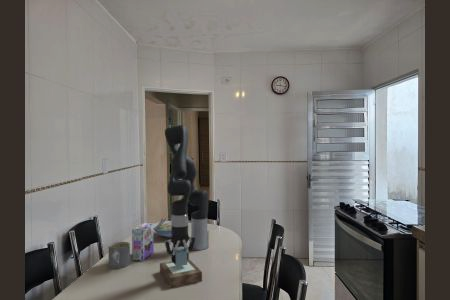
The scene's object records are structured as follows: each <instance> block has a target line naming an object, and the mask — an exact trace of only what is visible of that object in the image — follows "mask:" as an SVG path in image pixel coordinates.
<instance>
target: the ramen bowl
mask: <svg viewBox="0 0 450 300" xmlns="http://www.w3.org/2000/svg"><path fill="white" fill-rule="evenodd" d="M153 231H154V232H155V233H156V234H158V235H159V236H162V237H165V238H167V239H168V238H170V239H171V236H172V235H171V220H167V221H166V218H165V219H161V220H160V221H159V222H156V223H153Z"/></svg>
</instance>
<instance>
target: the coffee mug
mask: <svg viewBox="0 0 450 300" xmlns="http://www.w3.org/2000/svg"><path fill="white" fill-rule="evenodd" d="M130 246H131V245H130V242H128V241H116V242H112V243H110V244H109V245H108V268H109V269H113V270H118V269H119V270H120V269H123V268H124V269H125V268H127V267H129V266H130V264H131V256H130V255H131V247H130Z"/></svg>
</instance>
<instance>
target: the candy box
mask: <svg viewBox="0 0 450 300" xmlns="http://www.w3.org/2000/svg"><path fill="white" fill-rule="evenodd" d="M153 225H154V222H153V223H152V222H151V223H150V222H142V224H140V225H138V226H136V227H135V228H132V231H131V232H132V233H131V239H132V240H131V241H132V244H131V245H132V247H131V248H132V250H131V251H132V252H131V253H132V255H131V256H132V257H131V258H132V259H131V261H137V262H144V260H146V259H147V258H148V257H150V256H151V255H152V254H153V253H155V250H154V246H155V245H154V229H153Z"/></svg>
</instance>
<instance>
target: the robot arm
mask: <svg viewBox="0 0 450 300" xmlns="http://www.w3.org/2000/svg"><path fill="white" fill-rule="evenodd" d="M164 136H165V139H166V142H167V144H168V146H169V148H170V151H171V153H172V156H173V157H172V159H171V163H170V164H171V165H170V166H171V168H170V169H171V172H170V173H171V174H170V178H169V181H168V184H167V193H168V194H169V196H171V197H172V196H174V197H176V196H177V197H178V196H183V197H182V198H180V199H177V200H174V201H172V203H171V220H170V221H171V235H172V236H171V238H170V239H168V240H167V239H165V240H164V245H165V249H166V252H167V254H168V255H171V260H170V261H172V262H173V263H175V252H176V250H177V249H179V248H181V247H182V248H184V249H185V250H186V251H187V260H188V259H190V257H189V256H190V255H189V254H190V252H192V251H196V250H197V251H201V250H202V251H203V250H206V249H208V248H209V247H210V245H209V243H210V242H209V239H210V238H209V237H210V233H209V230H208V214H209V198H210V197H209V193H208V191H206V190H202V189H196V188H195V185H194V182H195V180H196V178H197V173H198V172H197V171H198V170H197V168H196V164H195V161H194V160H193V158H191V157H190V156H189V155H188V154H187V153H188V147H189V145H188V144H189V131H188V128H187V127H186V126H185V125H184V124H180V125H179V124H178V125H174V126H169V127H166V128H165V129H164ZM178 145H179V146H178ZM188 203H189V204H190V206H193V207H199V209H198V210H196V211H194V212H191V216H190V217H191V218H190V219H191V220H190V221H191V225H190V226H191V230H190V231H191V236H189V216H188V215H189V214H188V210H189V208H188V207H189V206H188ZM188 242H189V244H188V245H187V243H188ZM171 243H172V247H170V245H171Z"/></svg>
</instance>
